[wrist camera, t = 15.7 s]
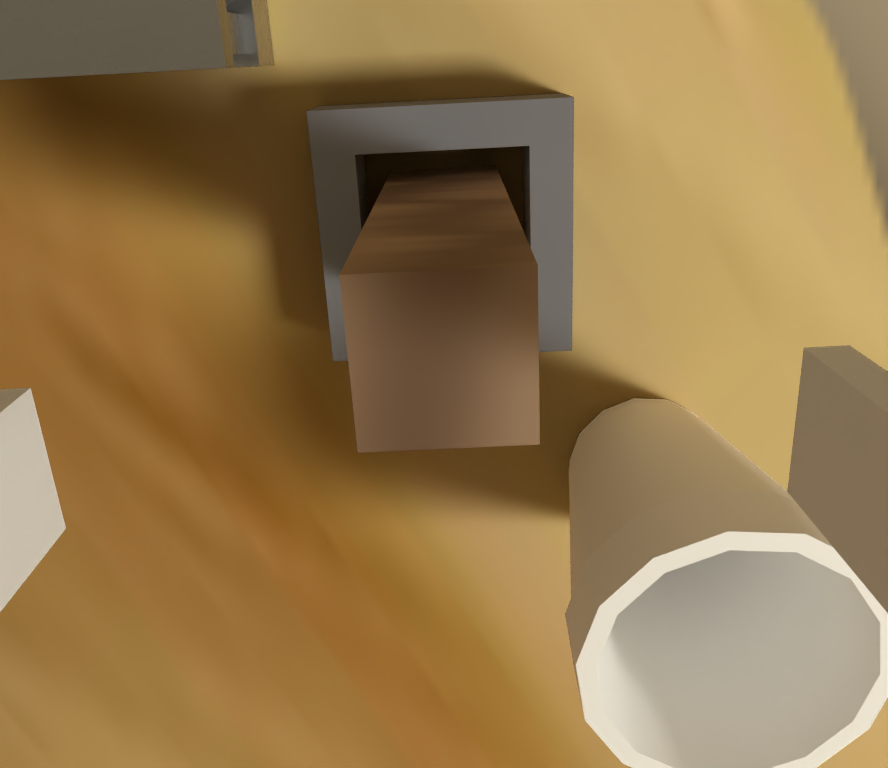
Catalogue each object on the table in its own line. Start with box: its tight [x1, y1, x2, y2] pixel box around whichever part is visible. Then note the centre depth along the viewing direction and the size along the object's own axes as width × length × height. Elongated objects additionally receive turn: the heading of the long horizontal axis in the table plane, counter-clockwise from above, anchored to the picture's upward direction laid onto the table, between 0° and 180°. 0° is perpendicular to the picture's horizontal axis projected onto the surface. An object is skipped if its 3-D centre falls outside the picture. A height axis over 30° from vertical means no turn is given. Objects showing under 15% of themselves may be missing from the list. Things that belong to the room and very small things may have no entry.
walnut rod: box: [339, 165, 540, 453], centre depth 25 cm, size 4×4×16 cm
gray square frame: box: [306, 93, 574, 361], centre depth 31 cm, size 9×9×3 cm
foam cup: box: [565, 398, 888, 768], centre depth 30 cm, size 10×9×13 cm
